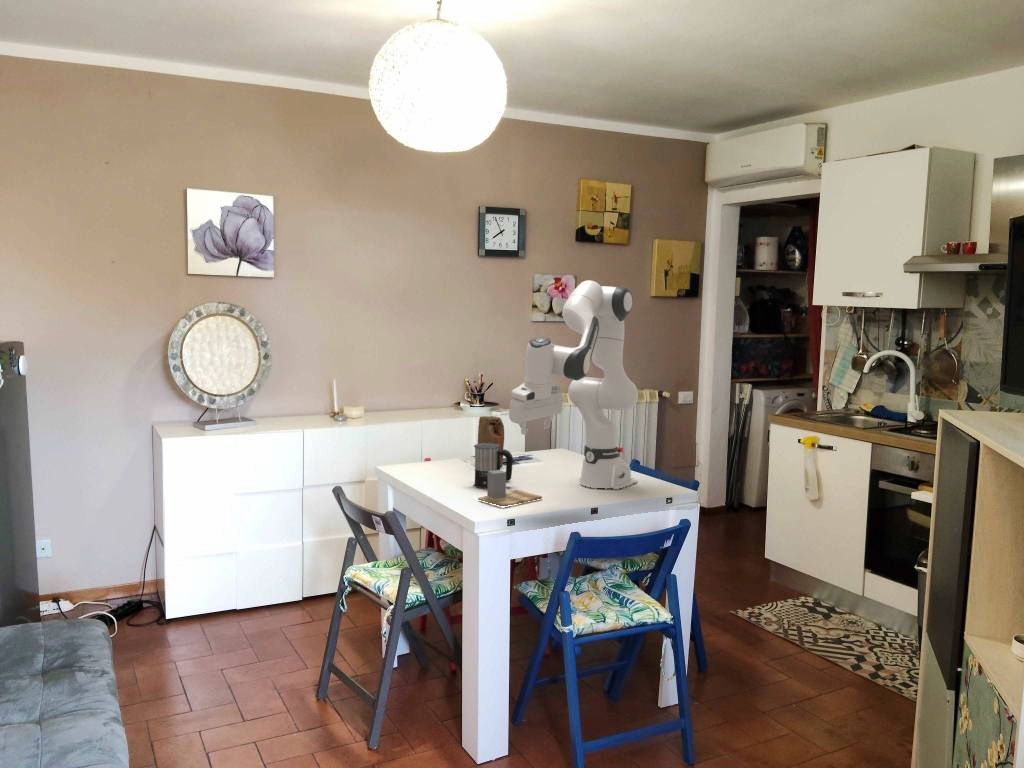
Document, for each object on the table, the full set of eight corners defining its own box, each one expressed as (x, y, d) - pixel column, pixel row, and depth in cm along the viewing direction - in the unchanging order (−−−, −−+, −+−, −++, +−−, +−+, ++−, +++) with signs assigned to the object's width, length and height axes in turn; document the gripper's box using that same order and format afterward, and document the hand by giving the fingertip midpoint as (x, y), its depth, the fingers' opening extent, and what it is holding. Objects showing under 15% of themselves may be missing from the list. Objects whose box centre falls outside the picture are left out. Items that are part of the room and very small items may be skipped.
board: (517, 493, 284) (517, 489, 284) (542, 499, 275) (542, 496, 275) (478, 501, 272) (478, 497, 271) (502, 508, 263) (502, 505, 263)
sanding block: (499, 496, 274) (499, 469, 273) (505, 499, 270) (506, 472, 269) (487, 497, 272) (487, 471, 271) (493, 500, 268) (494, 473, 267)
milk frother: (475, 489, 288) (475, 447, 286) (469, 479, 304) (470, 439, 302) (514, 488, 290) (515, 447, 289) (507, 478, 306) (508, 439, 304)
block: (475, 465, 329) (476, 415, 326) (491, 463, 333) (492, 414, 331) (490, 470, 320) (491, 419, 318) (506, 468, 324) (507, 418, 322)
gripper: (554, 382, 267) (552, 422, 271) (506, 392, 254) (505, 434, 258) (568, 387, 263) (565, 427, 267) (520, 397, 250) (518, 439, 254)
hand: (535, 431), depth 262 cm, fingers open, 8 cm apart
